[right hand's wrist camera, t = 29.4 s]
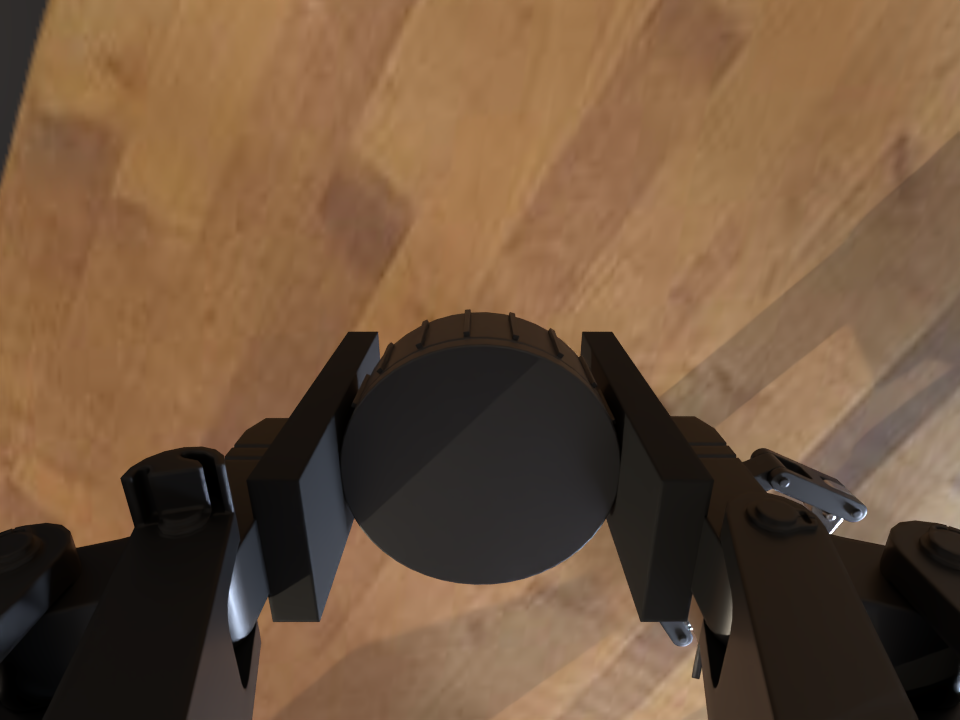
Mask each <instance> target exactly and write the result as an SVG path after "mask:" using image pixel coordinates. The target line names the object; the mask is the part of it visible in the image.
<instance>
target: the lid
mask: <svg viewBox="0 0 960 720" xmlns="http://www.w3.org/2000/svg"><path fill="white" fill-rule="evenodd" d="M596 387H597V383H596V381H595V379H594V377H593V375H592V373H591V371H590V369H589V367H588V365H587V363H586V361H585V359H584V357H583V356H582V355H581V356H580V357H578V356H577V355H576V353H575V352H574V351H573V350H572V349H571V348H570V347H569V346H568V345H566V344H565V343H564V342H563V341H562V340H561V339H559V338H558V337H557V336H556V333H555V331H554V330H553V329H551V328H550V329H549V331H548V330H546V329H544V328H542V327H540V326H538V325H536V324H534V323H531V322H529V321H526V320H524V319H521V318H517V317H515V313H511V312H510V313H509V315H505V314H497V313H488V312H479V313H471V310H465V313H464V314H457V315H451V316H447V317H444V318H440V319H437V320H434V321H432V322H428V320H425V321H423V322H422V326H420V327H418V328H417V329H415V330H413V331H412V332H410V333H408V334H407V335H405V336H404V337H403V338H401V339H400V340H399V341H398V342H396V343H395V344H393V343H392V342H391V343H390V344H389V345H388V346H387V348H386V351H385V353H384V355H383V357H382V358H381V359H380V361H379V362H378V364H377V365H376V366H375V368H374V369H373V371H372V373H371V375H369V374H366V376H365V378H364V380H363V382H362V384H361V386H360V388H359V390H358V393H357V395H356V397H355V399H354V401H353V403H352V405H351V407H352V408H354V411H353V413H352V415H351V418H350V420H349V422H348V424H347V427H346V430H345V433H344V436H343V440H342V445H341V451H340V471H341V480H342V488H343V491H344V495H345V498H346V502H347V504H348V506H349V508H350V510H351V512H352V515H353V516H354V518H355V520H356V521H357V523H358V524H359V526H360V527H361V529H362V530H363V531H364V532H365V534H366V535H367V536H368V537H369V538H370V540H371V541H372V542H373V543H374V544H376V545H377V546H378V547H379V548H380V549H381V550H382V551H383V552H385V553H386V554H387V555H389V556H390V557H392V558H393V559H394V560H396V561H397V562H399V563H401V564H403V565H404V566H406V567H408V568H410V569H412V570H414V571H417V572H419V573H422V574H424V575H426V576H430V577H433V578H436V579H440V580H444V581H449V582H455V583H462V584H474V585H479V584H498V583H506V582H512V581H516V580H521V579H525V578H528V577H531V576H534V575H537V574H540V573H542V572H544V571H546V570H548V569H550V568H553V567H555V566H556V565H558V564H560V563H561V562H563V561H565V560H566V559H568V558H569V557H571V556H572V555H573V554H575V553H576V552H577V551H578V550H580V549H581V548H582V547H583V546H584V545H585V544H586V543H587V542H588V541H589V540H590V539H591V538H592V537H593V536H594V535H595V533H596V532H597V531H598V529H599V528H600V527H601V526H602V524H603V522H604V521H605V519H606V517H607V516H608V514H609V512H610V510H611V508H612V505H613V503H614V500H615V498H616V495H617V490H618V483H619V474H620V465H621V452H620V446H619V441H618V437H617V433H616V430H615V428H614V424H616V421H615V418H614V416H613V414H612V412H611V410H610V408H609V406H608V404H607V402H606V400H605V398H604V396H603V393H602V391H601V389H599V390H597V388H596Z"/></svg>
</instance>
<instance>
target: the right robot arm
mask: <svg viewBox="0 0 960 720" xmlns="http://www.w3.org/2000/svg"><path fill="white" fill-rule="evenodd" d="M581 355H582V356H583V357H584V359H585V361H586V363H587V365H588V367H589V369H590V371H591V373H592V375H593V377H594V379H595V381H596V383H597V387H596V388H597V390H599V389H601V391H602V393H603V396H604V398H605V400H606V402H607V404H608V406H609V408H610V410H611V412H612V414H613V416H614V418H615V421H616V424H614V428H615V430H616V433H617V437H618V441H619V446H620V452H621V465H620V474H619V483H618V490H617V495H616V498H615V500H614V503H613V505H612V508H611V510H610V512H609V514H608V516H607V517H606V519H607V522H608V525H609V528H610V531H611V534H612V537H613V540H614V543H615V546H616V549H617V552H618V555H619V558H620V561H621V564H622V567H623V570H624V573H625V576H626V579H627V582H628V585H629V588H630V591H631V594H632V597H633V600H634V603H635V606H636V609H637V612H638V615H639V618H640V621H641V622H687V621H688V616H689V610H690V605H691V600H692V594H693V596H694V598H695V600H696V602H697V604H698V607H699V609H700V611H701V613H702V615H703V622H702V627H701V632H700V636H699V641H698V646H697V651H696V656H695V661H694V666H693V673H692V678H696V679H699V678H700V673H701V669H702V671H703V680H704V688H705V697H706V705H707V713H708V720H960V530H959V529H956V528H953V527H950V526H949V527H947V526H946V525H943V524H938V523H931V522H923V521H907V522H900V523H898V524H897V525H896V526H894V527H893V528H892V529H891V531H890V534H889V537H888V539H887V542H886V545H885V546H884V545H879V544H874V543H869V542H864V541H859V540H854V539H849V538H844V537H839V536H836V535H832V534H829V533H828V531H827V529H826V527H825V525H824V524H823V523H822V522H821V520H820V519H819V518H818V517H817V515H815V514H814V513H813V512H811V511H810V510H808V509H807V508H805V507H804V506H803V505H801V504H799V503H796V502H794V501H792V500H789V499H787V498H785V497H782V496H777V495H773V494H769V493H767V492H766V491H765V490H764V489H763V487H762V486H761V485H760V484H759V482H758V481H757V480H756V479H755V477H754V476H753V475H752V474H751V473H750V471H749V470H748V469H747V468H746V466H745V465H744V464H743V463H742V462H741V460H740V459H739V458H736V454H735V453H734V452H733V451H732V449H731V448H730V447H729V446H726V442H725V441H724V439H723V438H722V437H721V436H720V435H719V433H718V432H717V431H716V430H715V429H714V428H713V427H711V426H710V425H708V424H706V423H705V422H703V421H701V420H700V419H698V418H696V417H695V416H670V415H669V414H668V412H667V411H666V409H665V408H664V407H663V405H662V404H661V402H660V401H659V399H658V398H657V396H656V395H655V393H654V392H653V391H652V389H651V388H650V386H649V385H648V383H647V382H646V380H645V379H644V378H643V376H642V375H641V373H640V372H639V370H638V369H637V367H636V366H635V364H634V363H633V362H632V360H631V359H630V357H629V356H628V354H627V353H626V351H625V350H624V349H623V347H622V346H621V344H620V343H619V341H618V340H617V338H616V337H615V336H614V334H613V333H612V332H582V343H581ZM379 361H380V352H379V338H378V332H348V333H347V335H346V336H345V337H344V339H343V340H342V342H341V343H340V345H339V346H338V348H337V349H336V350H335V352H334V353H333V355H332V356H331V358H330V359H329V361H328V362H327V364H326V365H325V366H324V368H323V369H322V371H321V372H320V374H319V375H318V377H317V378H316V379H315V381H314V382H313V384H312V385H311V387H310V388H309V390H308V391H307V393H306V394H305V395H304V397H303V398H302V400H301V401H300V403H299V404H298V406H297V407H296V408H295V410H294V411H293V413H292V414H291V416H290V417H289V418H265V419H264V420H262V421H261V422H259V423H257V424H256V425H254V426H252V427H251V428H249V429H248V430H246V431H245V432H244V434H243V435H242V436H241V437H240V439H239V440H238V441H237V442H236V443H235V445H234V448H231V450H230V451H229V452H228V453H227V455H226V456H225V460H224V455H222V454H221V453H220V452H218V451H217V450H215V449H211V448H206V447H183V448H178V449H174V450H169V451H164V452H162V453H159V454H156V455H154V456H151V457H148V458H146V459H144V460H142V461H141V462H139V463H137V464H136V465H134V466H132V467H131V468H130V469H129V470H128V471H127V472H126V473H125V474H124V475H123V476H122V477H121V478H120V479H121V482H122V485H123V489H124V492H125V496H126V499H127V503H128V506H129V509H130V513H131V516H132V520H133V523H134V527H135V528H134V530H133V532H132V534H131V536H130V537H127V538H123V539H118V540H114V541H109V542H104V543H99V544H94V545H89V546H84V547H79V548H76V547H75V544H74V541H73V538H72V535H71V532H70V531H69V530H68V529H66V528H65V527H64V526H62V525H58V524H51V523H42V524H34V525H25V526H21V527H16V528H15V529H10V530H7V531H4V532H1V533H0V720H252V715H253V706H254V698H255V690H256V681H257V673H258V664H259V656H260V648H261V639H260V632H259V627H258V622H257V619H258V617H259V614H260V612H261V610H262V608H263V606H264V604H265V602H266V599H267V597H268V598H269V603H270V608H271V614H272V619H273V622H320V619H321V616H322V613H323V610H324V607H325V604H326V601H327V598H328V595H329V592H330V589H331V586H332V583H333V580H334V577H335V574H336V571H337V568H338V565H339V562H340V559H341V556H342V553H343V550H344V547H345V544H346V541H347V538H348V535H349V532H350V529H351V526H352V523H353V520H354V516H353V515H352V512H351V510H350V508H349V506H348V504H347V502H346V498H345V495H344V491H343V488H342V480H341V471H340V451H341V445H342V440H343V436H344V433H345V430H346V427H347V424H348V422H349V420H350V418H351V415H352V413H353V411H354V408H352V407H351V405H352V403H353V401H354V399H355V397H356V395H357V393H358V390H359V388H360V386H361V384H362V382H363V380H364V378H365V376H366V374H369V375H371V373H372V371H373V369H374V368H375V366H376V365H377V364H378V362H379Z"/></svg>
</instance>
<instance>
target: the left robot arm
mask: <svg viewBox="0 0 960 720" xmlns="http://www.w3.org/2000/svg"><path fill="white" fill-rule="evenodd" d="M742 463H743V464H744V465H745V466H746V468H747V469H748V470H749V471H750V473H751V474H752V475H753V476H754V477H755V479H756V480H757V481H758V482H759V484H760V485H761V486H762V487H763V489H764V490H765V491H768V490H770V489H774V490H776V491H778V492H781V493H783V494H785V495H788V496H790V497H792V498H795V499H797V500H800V501H802V502H803V503H804V505H805V506H806V507H807V509H808V510H810V511H811V512H813V513H814V514H815V515H817V517H818V518H819V519H820V520H821V522H822V523H823V524H824V525H825V527H826V529H827V531H828V533H829V534H831V533H832V532H833V531H834V530H835V528H836V527H837V526H838V525H839V524H840V522H841V521H842V520H843V519H844V520H847V521H849V522H857V521H860V520H861V519H863V518H864V517H865V516H866V514H867V508H866V506H865V505H864V504H863V503H861V502H860V501H859V500H858V499H857V498H856V497H855V496H854V495H853V494H852V493H851V492H850V491H849V490H848V489H846V488H845V487H844V486H843V485H842V484H841V483H840V482H839V481H838V480H837V479H835V478H832V477H830V476H828V475H825V474H823V473H821V472H819V471H816V470H814V469H812V468H809V467H807V466H805V465H803V464H800V463H798V462H796V461H794V460H791V459H789V458H787V457H784V456H782V455H780V454H778V453H775V452H773V451H771V450H768V449H766V448H761V449H758V450H756V451H754V452H753V453H752V455H751V458H750V459H749V460H747V461H745V462H742ZM660 623H661V625H662V626H663V628H664V629H665V631H666V632H667V634H668V635H669V637H670V638H671V640H672V641H673V643H674V644H675V645H677V646H686V645H688V644H690V643H691V641H692V639H693V636H692V634H691V632H690V630H691V629H692V627H691V625H690V623H689V620H688V621H687V622H660Z"/></svg>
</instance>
